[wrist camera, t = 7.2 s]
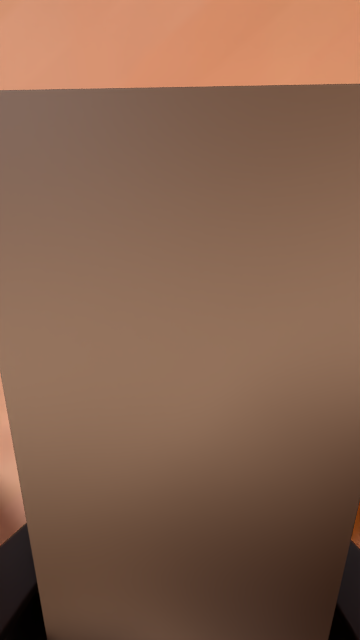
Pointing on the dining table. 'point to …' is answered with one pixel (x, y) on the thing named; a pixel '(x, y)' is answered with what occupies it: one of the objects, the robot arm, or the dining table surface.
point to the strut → (183, 354)
